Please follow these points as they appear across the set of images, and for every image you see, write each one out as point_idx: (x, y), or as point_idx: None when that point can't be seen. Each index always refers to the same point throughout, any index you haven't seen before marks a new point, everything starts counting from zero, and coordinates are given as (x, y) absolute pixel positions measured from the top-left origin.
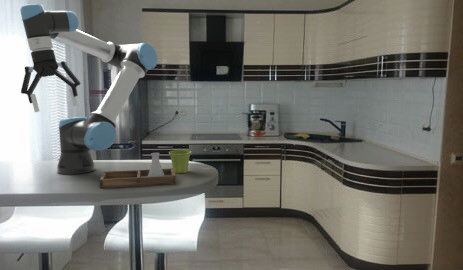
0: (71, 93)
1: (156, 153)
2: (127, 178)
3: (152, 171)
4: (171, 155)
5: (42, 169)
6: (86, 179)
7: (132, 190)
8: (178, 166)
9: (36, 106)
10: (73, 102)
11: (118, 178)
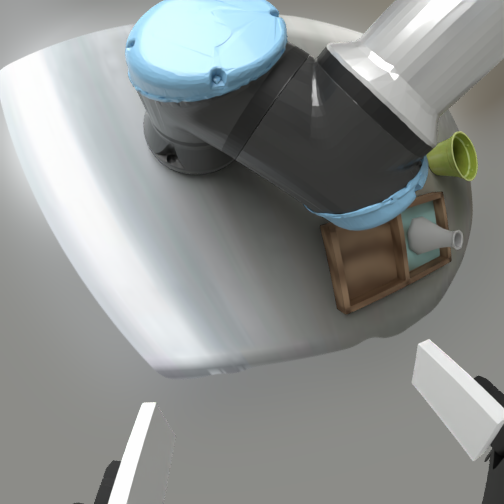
0: (460, 434)
1: (458, 232)
2: (392, 291)
3: (428, 250)
4: (455, 169)
5: (93, 121)
6: (276, 230)
7: (392, 312)
8: (446, 175)
9: (164, 455)
10: (428, 394)
11: (377, 294)
